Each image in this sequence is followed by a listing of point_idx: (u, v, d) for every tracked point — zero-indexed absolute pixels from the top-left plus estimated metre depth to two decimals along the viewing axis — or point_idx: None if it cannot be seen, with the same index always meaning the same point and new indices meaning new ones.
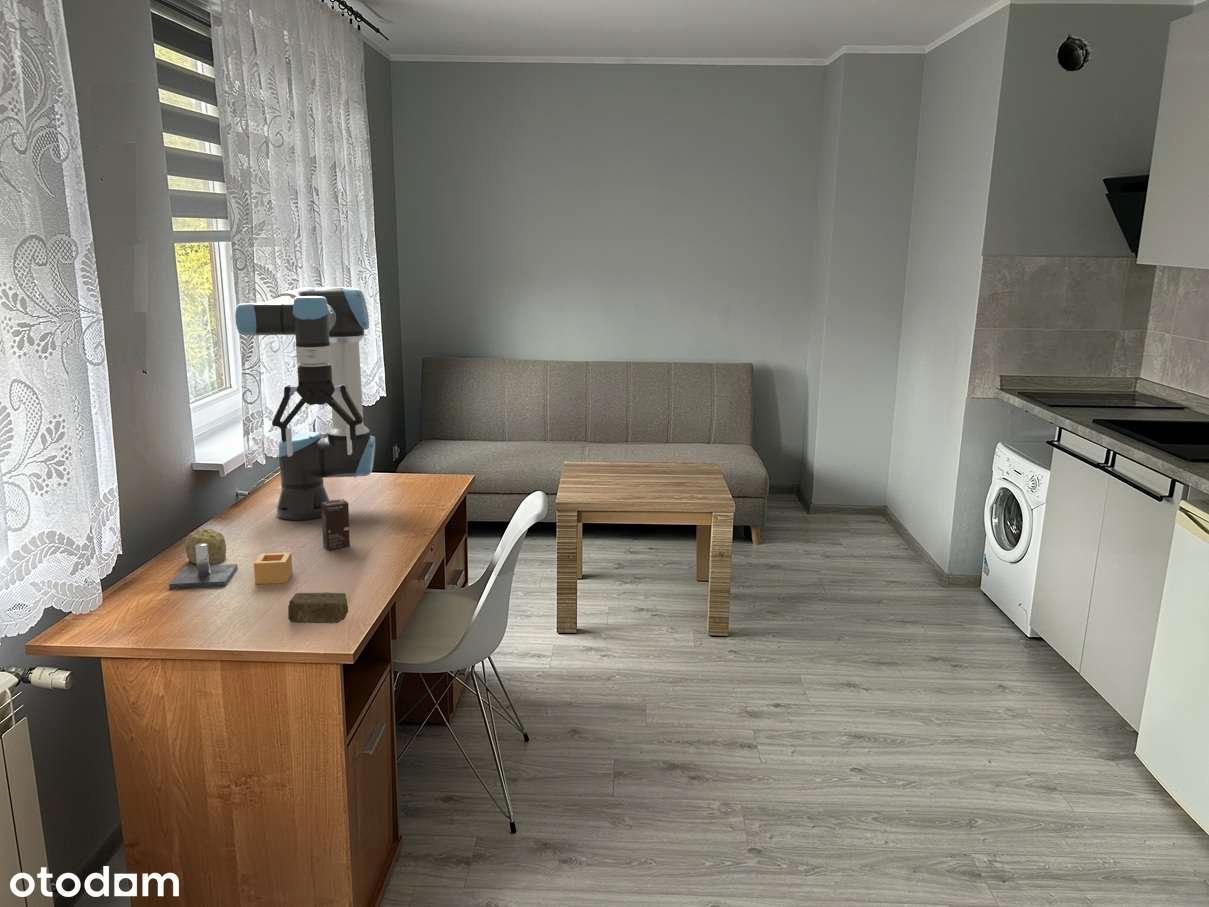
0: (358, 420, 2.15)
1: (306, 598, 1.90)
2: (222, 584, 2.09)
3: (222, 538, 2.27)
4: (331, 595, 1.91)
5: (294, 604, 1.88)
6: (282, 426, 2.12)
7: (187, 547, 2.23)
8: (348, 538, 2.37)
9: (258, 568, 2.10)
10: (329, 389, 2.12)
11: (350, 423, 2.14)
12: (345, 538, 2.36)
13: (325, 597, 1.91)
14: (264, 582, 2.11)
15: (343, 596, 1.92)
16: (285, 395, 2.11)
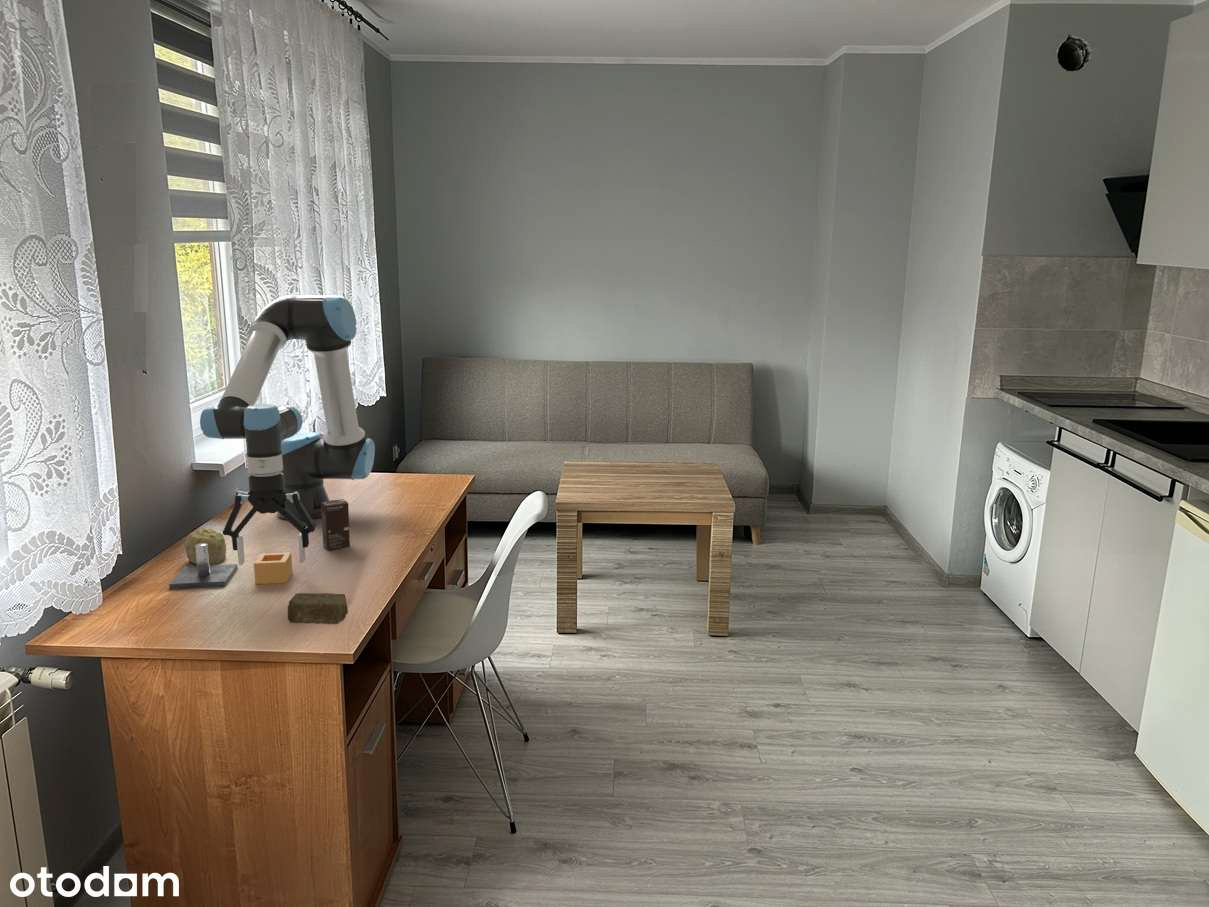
0: (310, 528, 2.12)
1: (306, 599, 1.90)
2: (222, 584, 2.09)
3: (222, 538, 2.27)
4: (331, 596, 1.91)
5: (293, 605, 1.88)
6: (233, 535, 2.10)
7: (187, 547, 2.23)
8: (348, 538, 2.37)
9: (258, 568, 2.10)
10: (281, 498, 2.10)
11: (302, 531, 2.12)
12: (345, 538, 2.36)
13: (324, 597, 1.91)
14: (264, 582, 2.11)
15: (343, 597, 1.91)
16: (236, 504, 2.09)
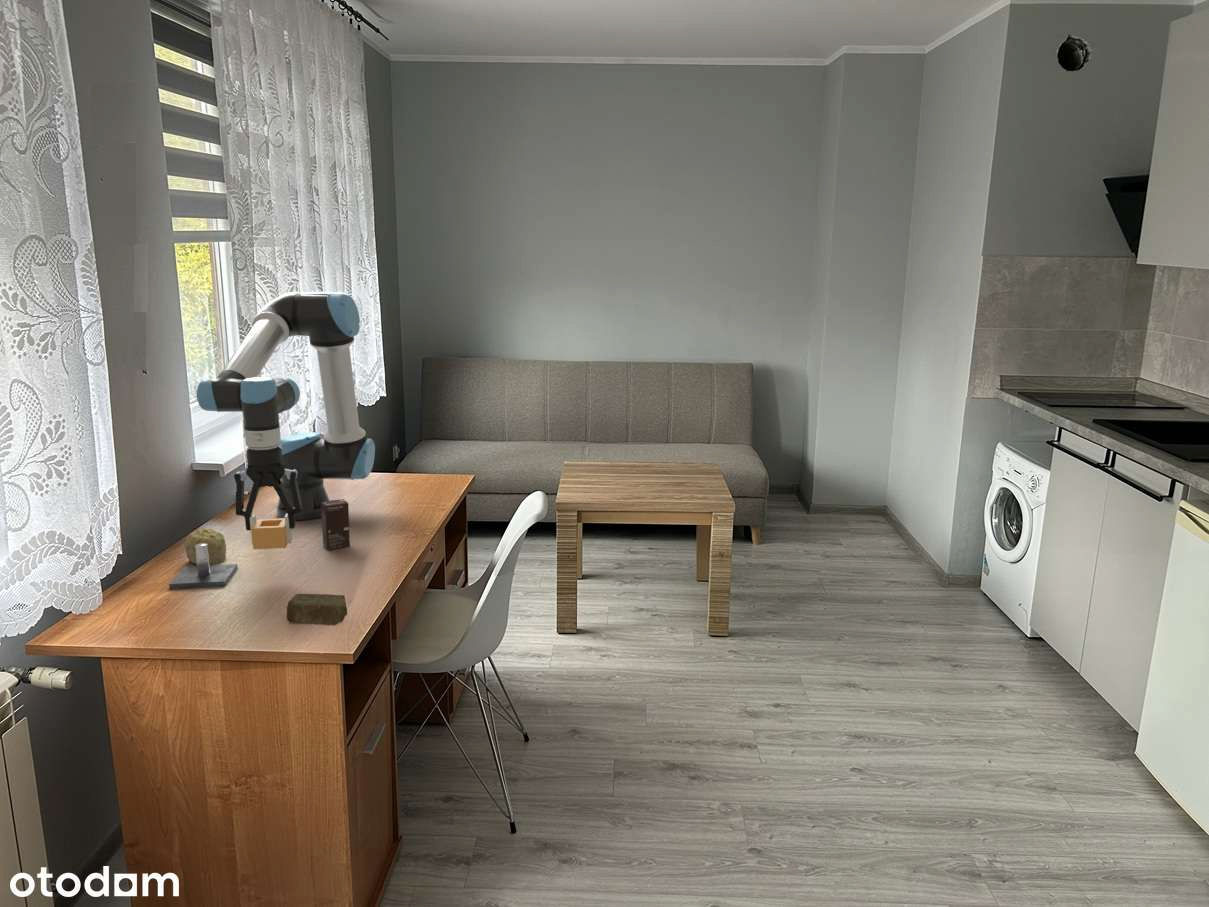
0: (297, 509, 2.11)
1: (305, 599, 1.89)
2: (222, 584, 2.09)
3: (222, 538, 2.27)
4: (330, 597, 1.90)
5: (292, 605, 1.88)
6: (246, 515, 2.10)
7: (187, 547, 2.23)
8: (348, 538, 2.37)
9: (256, 533, 2.09)
10: (279, 471, 2.09)
11: (289, 512, 2.11)
12: (345, 538, 2.36)
13: (323, 598, 1.90)
14: (262, 547, 2.10)
15: (342, 598, 1.91)
16: (237, 482, 2.08)
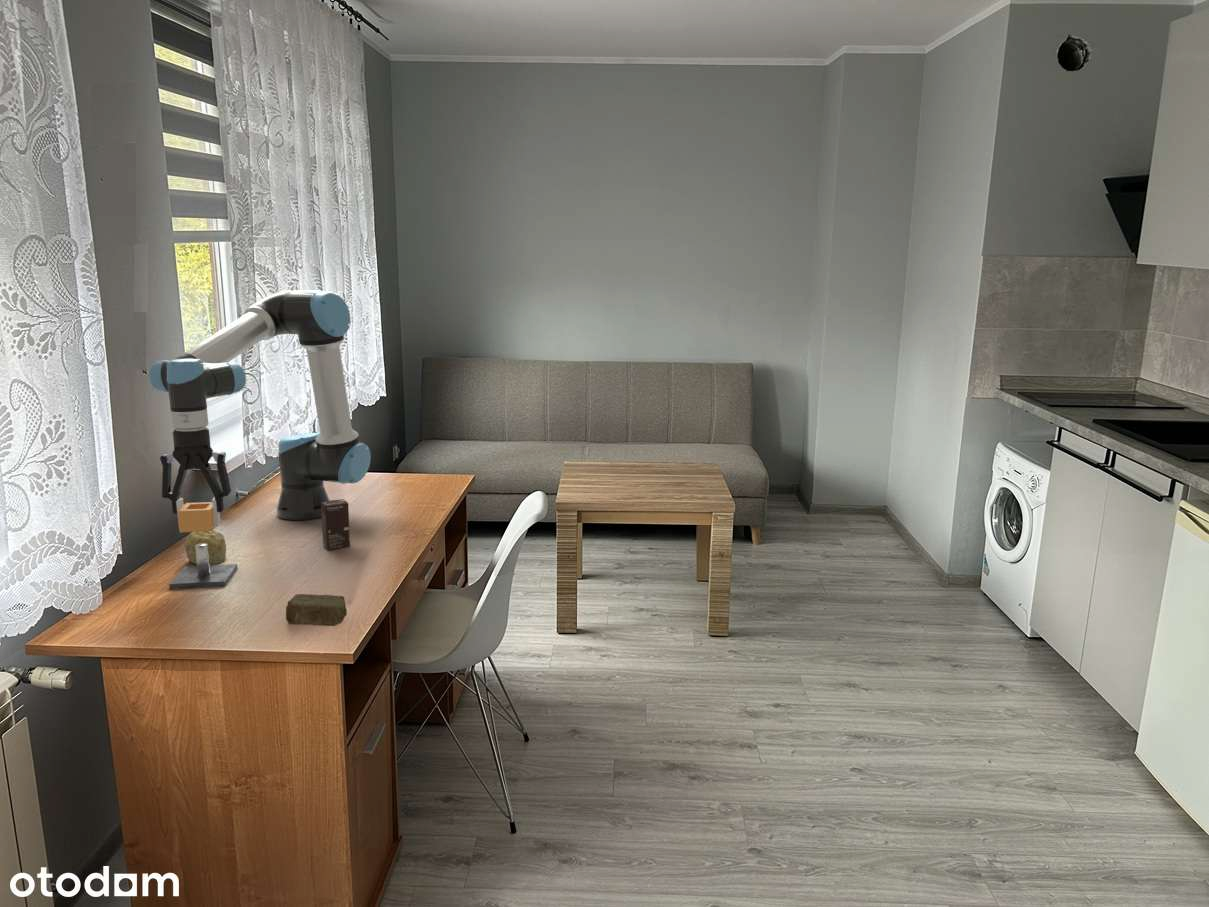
0: (225, 492, 2.10)
1: (304, 600, 1.89)
2: (222, 584, 2.09)
3: (222, 538, 2.27)
4: (330, 598, 1.90)
5: (291, 606, 1.88)
6: (173, 498, 2.08)
7: (187, 547, 2.23)
8: (348, 538, 2.37)
9: (182, 516, 2.07)
10: (206, 453, 2.07)
11: (216, 495, 2.10)
12: (345, 538, 2.36)
13: (323, 599, 1.90)
14: (188, 530, 2.08)
15: (341, 599, 1.90)
16: (164, 465, 2.06)
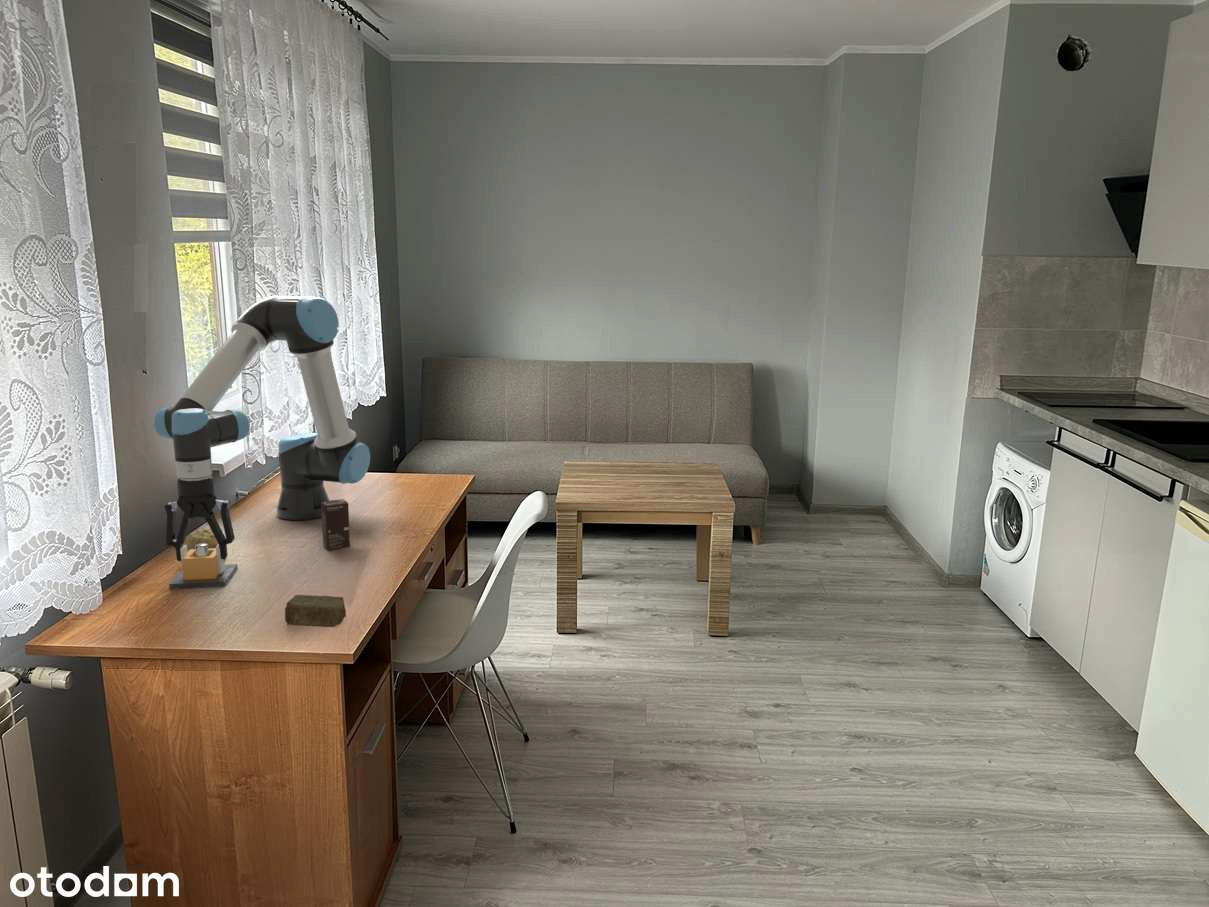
0: (228, 539, 2.12)
1: (304, 601, 1.89)
2: (222, 584, 2.09)
3: None
4: (329, 599, 1.90)
5: (290, 606, 1.87)
6: (177, 546, 2.11)
7: (187, 547, 2.23)
8: (348, 538, 2.37)
9: (186, 564, 2.10)
10: (210, 502, 2.10)
11: (220, 542, 2.12)
12: (345, 538, 2.36)
13: (322, 600, 1.89)
14: (192, 578, 2.10)
15: (340, 600, 1.90)
16: (168, 513, 2.09)
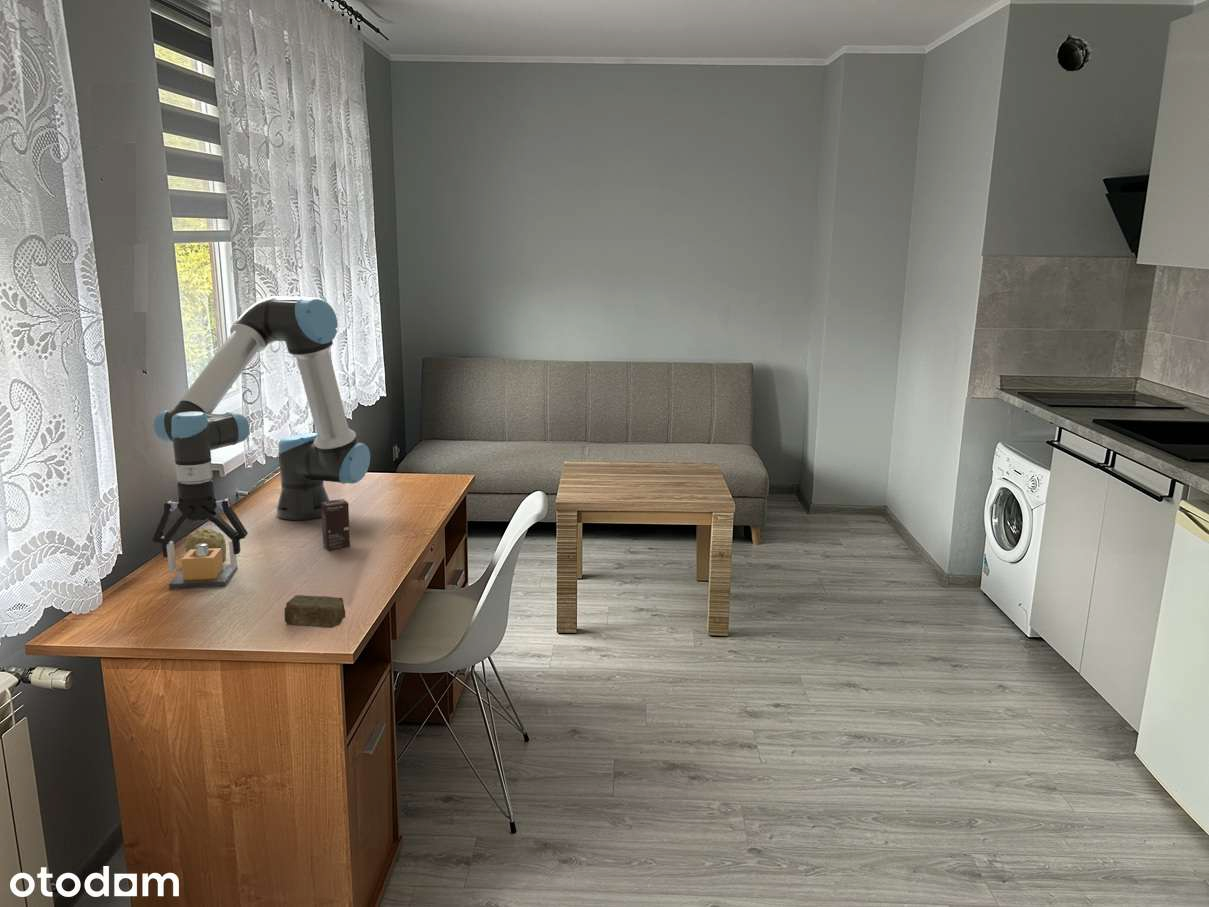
0: (241, 535, 2.12)
1: (303, 601, 1.88)
2: (222, 584, 2.09)
3: (222, 538, 2.27)
4: (328, 599, 1.89)
5: (290, 607, 1.87)
6: (163, 542, 2.10)
7: (187, 547, 2.23)
8: (348, 538, 2.37)
9: (186, 564, 2.10)
10: (210, 505, 2.10)
11: (233, 538, 2.12)
12: (345, 538, 2.36)
13: (321, 600, 1.89)
14: (192, 578, 2.10)
15: (339, 601, 1.89)
16: (165, 511, 2.09)
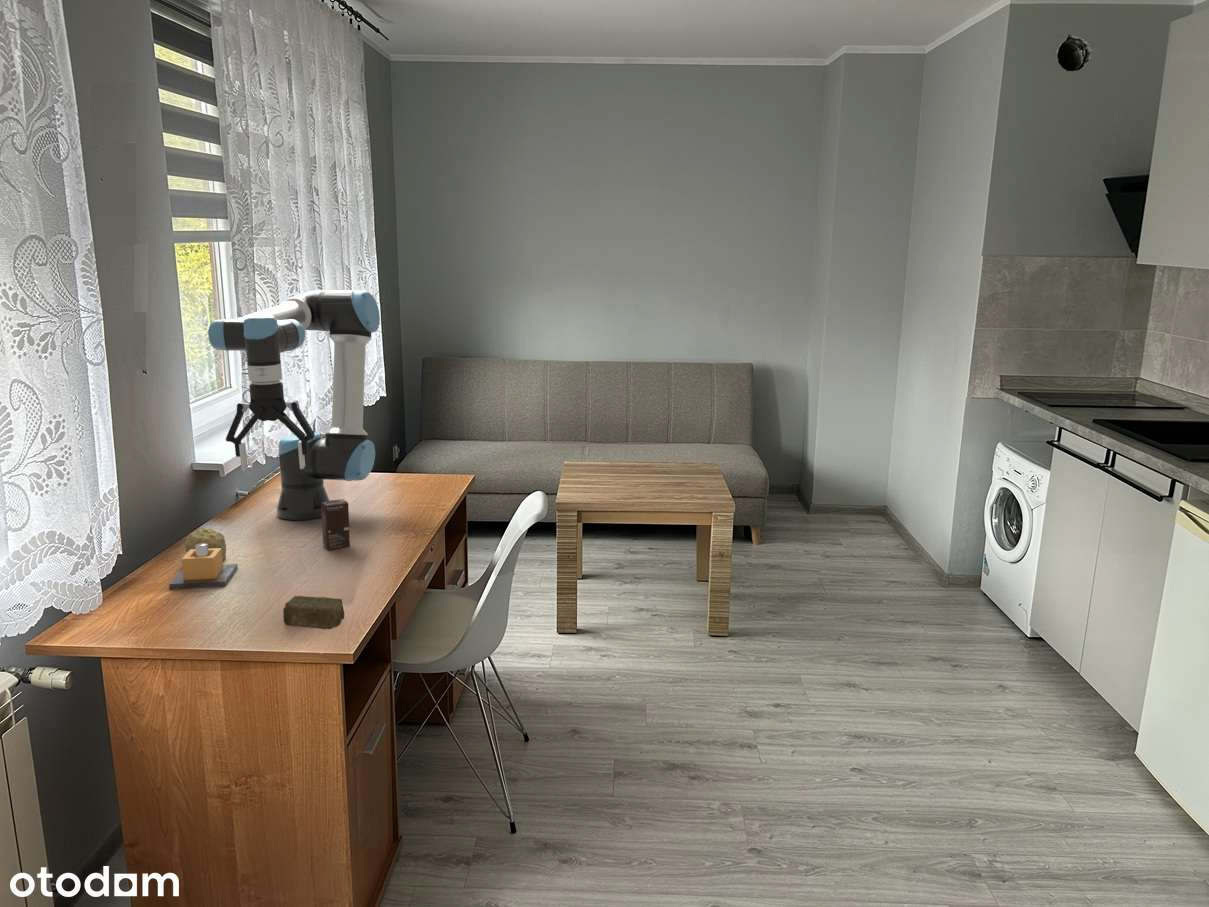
0: (309, 435, 2.21)
1: (302, 602, 1.88)
2: (222, 584, 2.09)
3: (222, 538, 2.27)
4: (327, 600, 1.89)
5: (289, 608, 1.87)
6: (236, 442, 2.19)
7: (187, 547, 2.23)
8: (348, 538, 2.37)
9: (186, 564, 2.10)
10: (280, 406, 2.19)
11: (302, 438, 2.21)
12: (345, 538, 2.36)
13: (320, 601, 1.88)
14: (192, 578, 2.10)
15: (338, 602, 1.89)
16: (238, 412, 2.18)
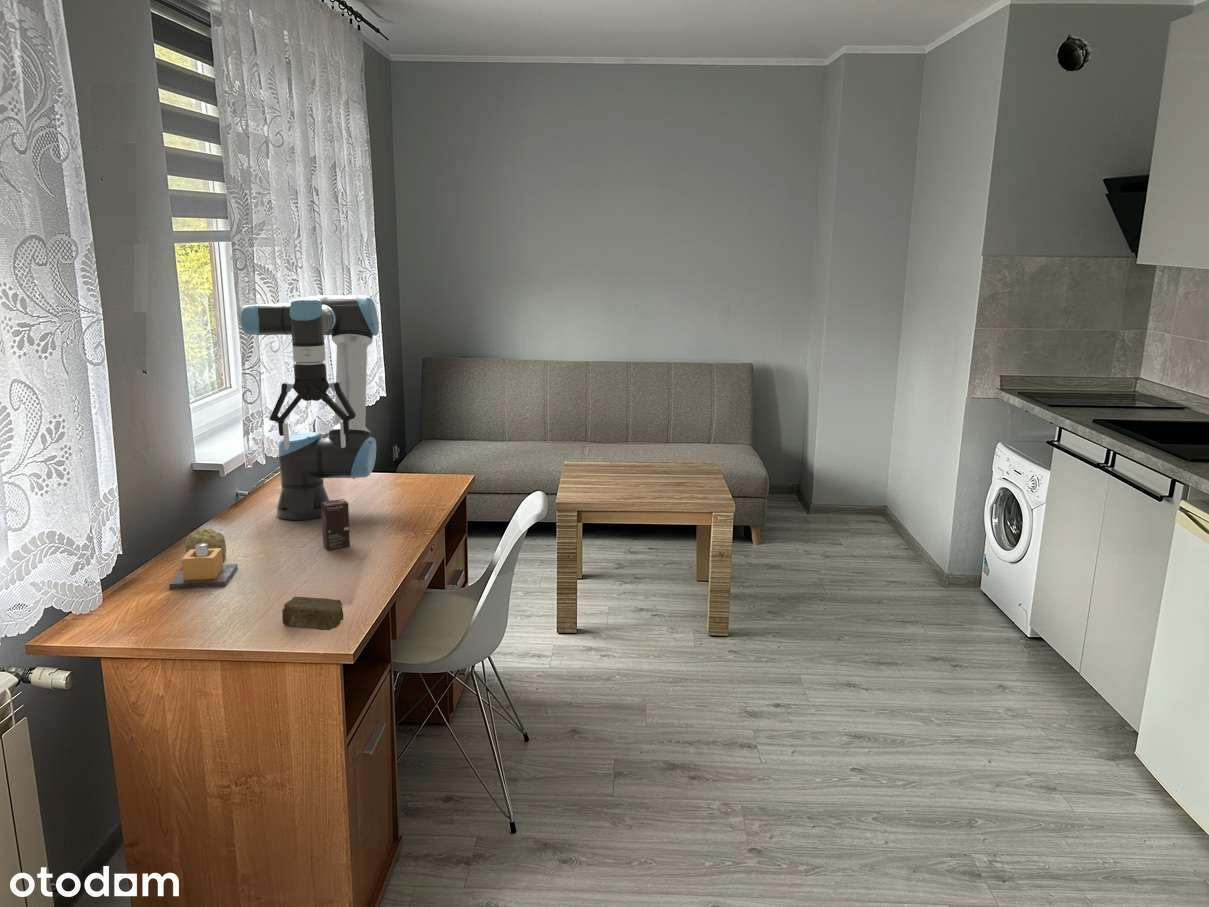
0: (351, 415, 2.28)
1: (301, 603, 1.88)
2: (222, 584, 2.09)
3: (222, 538, 2.27)
4: (326, 601, 1.88)
5: (287, 608, 1.86)
6: (279, 421, 2.26)
7: (187, 547, 2.23)
8: (348, 538, 2.37)
9: (186, 564, 2.10)
10: (324, 386, 2.26)
11: (343, 418, 2.28)
12: (345, 538, 2.36)
13: (319, 602, 1.88)
14: (192, 578, 2.10)
15: (337, 603, 1.88)
16: (282, 391, 2.24)
